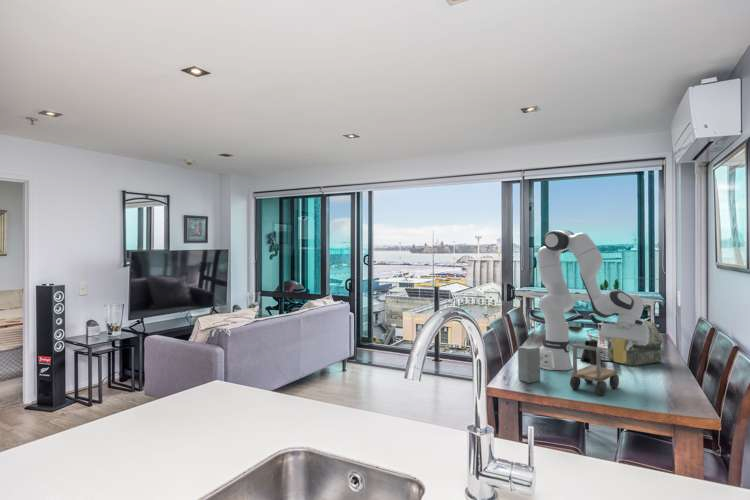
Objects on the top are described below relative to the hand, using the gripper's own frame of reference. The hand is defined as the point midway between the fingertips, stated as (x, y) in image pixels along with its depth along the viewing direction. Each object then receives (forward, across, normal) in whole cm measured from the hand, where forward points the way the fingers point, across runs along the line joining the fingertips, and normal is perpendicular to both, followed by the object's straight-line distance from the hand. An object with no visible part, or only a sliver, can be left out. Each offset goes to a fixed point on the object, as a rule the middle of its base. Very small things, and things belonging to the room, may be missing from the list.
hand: (619, 348), depth 202 cm
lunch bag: (-24, -11, +48) cm, 54 cm away
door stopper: (-11, -26, +34) cm, 44 cm away
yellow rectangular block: (+4, 0, +5) cm, 6 cm away
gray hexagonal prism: (+28, -32, -4) cm, 42 cm away
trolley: (+20, -6, +3) cm, 21 cm away
